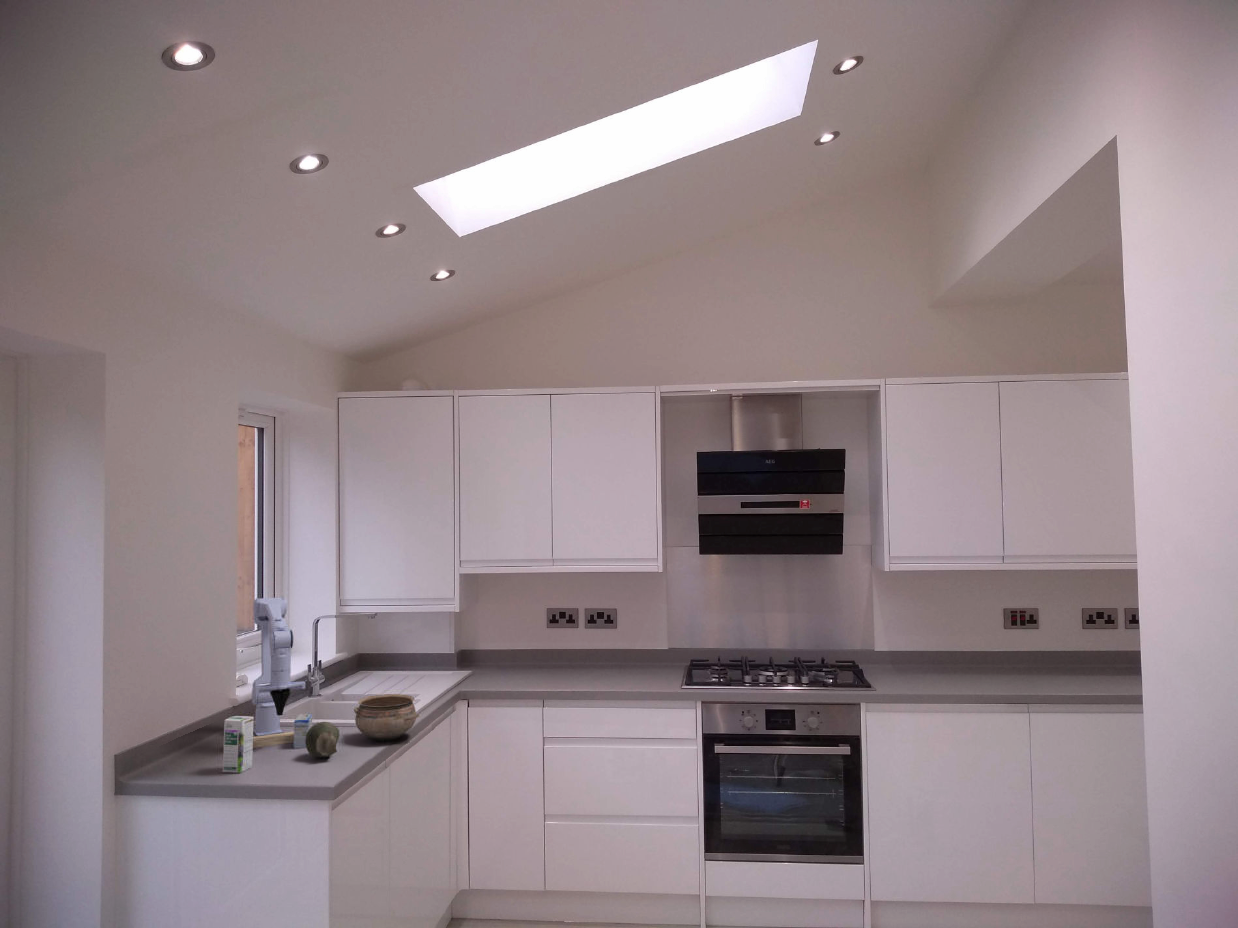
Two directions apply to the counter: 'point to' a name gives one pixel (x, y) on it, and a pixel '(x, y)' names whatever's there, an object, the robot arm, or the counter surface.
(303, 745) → the medicine box
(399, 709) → the cooking pot
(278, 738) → the pine board
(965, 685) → the counter surface
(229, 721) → the syrup box
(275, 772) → the counter surface
